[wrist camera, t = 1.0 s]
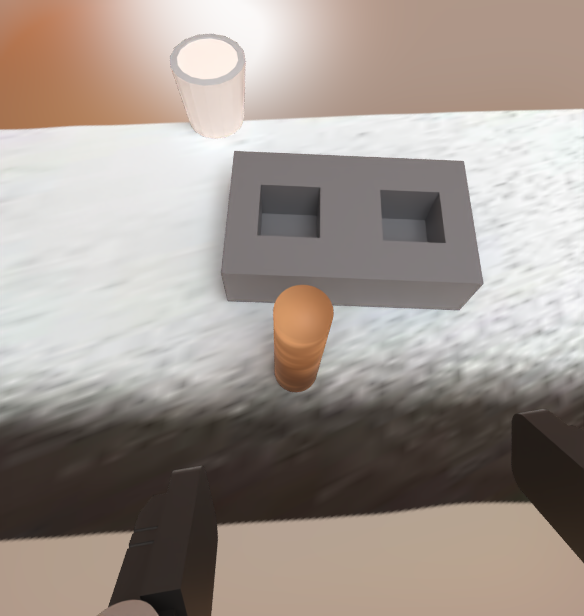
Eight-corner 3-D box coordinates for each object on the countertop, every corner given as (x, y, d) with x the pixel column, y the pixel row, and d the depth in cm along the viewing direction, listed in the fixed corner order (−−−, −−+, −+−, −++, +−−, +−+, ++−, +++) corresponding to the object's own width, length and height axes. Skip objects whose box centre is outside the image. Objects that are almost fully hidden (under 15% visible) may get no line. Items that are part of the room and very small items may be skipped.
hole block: (227, 300, 39) (221, 273, 34) (238, 188, 44) (234, 151, 39) (459, 310, 39) (483, 283, 34) (444, 197, 44) (463, 161, 39)
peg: (273, 391, 36) (271, 338, 25) (275, 350, 37) (274, 283, 26) (316, 392, 36) (333, 341, 25) (317, 351, 37) (333, 285, 26)
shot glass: (193, 150, 46) (180, 91, 39) (176, 103, 48) (161, 41, 42) (258, 134, 47) (255, 74, 40) (238, 88, 49) (232, 26, 43)
